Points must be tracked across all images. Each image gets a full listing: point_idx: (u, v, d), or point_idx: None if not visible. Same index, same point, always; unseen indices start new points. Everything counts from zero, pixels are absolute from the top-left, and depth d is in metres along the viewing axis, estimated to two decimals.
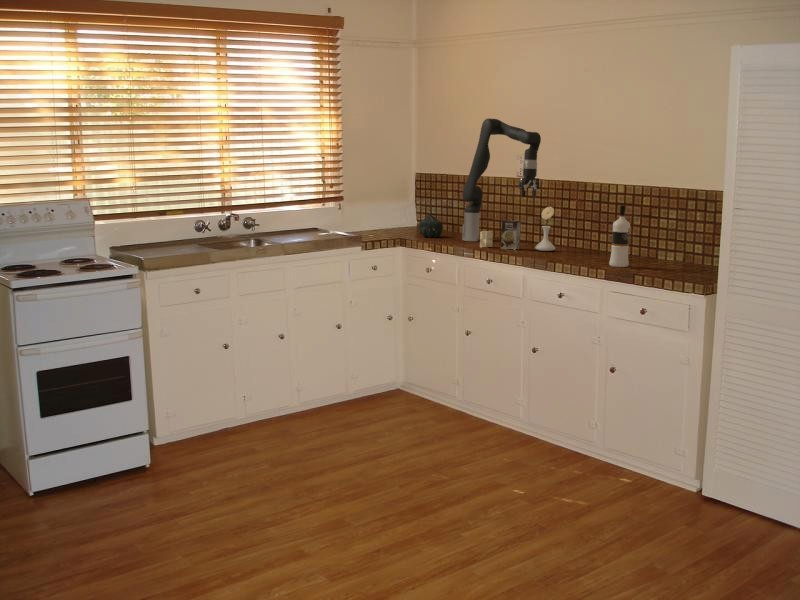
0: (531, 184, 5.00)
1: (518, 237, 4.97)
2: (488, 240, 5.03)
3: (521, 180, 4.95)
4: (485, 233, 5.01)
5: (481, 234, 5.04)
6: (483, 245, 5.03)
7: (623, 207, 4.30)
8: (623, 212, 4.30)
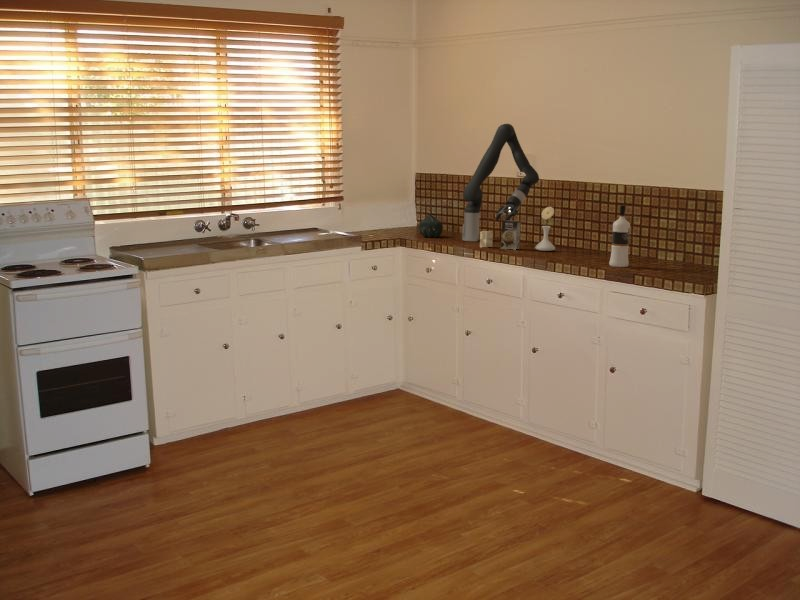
0: None
1: (518, 237, 4.97)
2: (488, 240, 5.03)
3: (518, 209, 5.07)
4: (485, 233, 5.01)
5: (481, 234, 5.04)
6: (483, 245, 5.03)
7: (623, 207, 4.30)
8: (623, 212, 4.30)
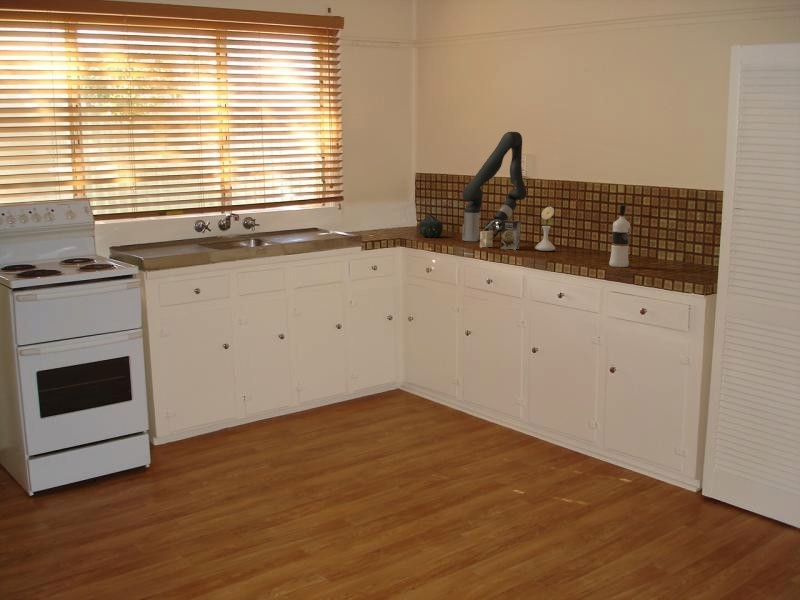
0: None
1: (518, 237, 4.97)
2: (488, 240, 5.03)
3: None
4: (485, 233, 5.01)
5: (481, 234, 5.04)
6: (483, 245, 5.03)
7: (623, 207, 4.30)
8: (623, 212, 4.30)
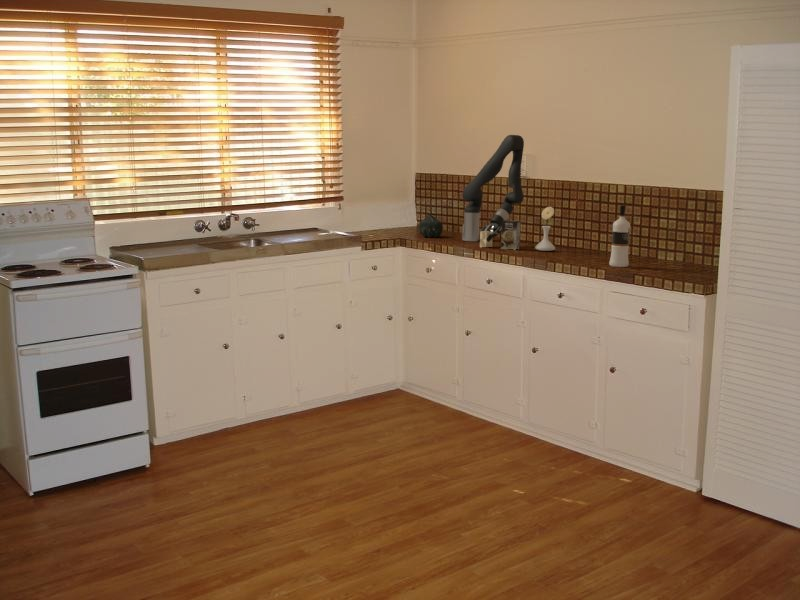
0: None
1: (518, 237, 4.97)
2: None
3: (500, 230, 5.02)
4: (485, 233, 5.01)
5: (481, 234, 5.04)
6: (483, 245, 5.03)
7: (623, 207, 4.30)
8: (623, 212, 4.30)
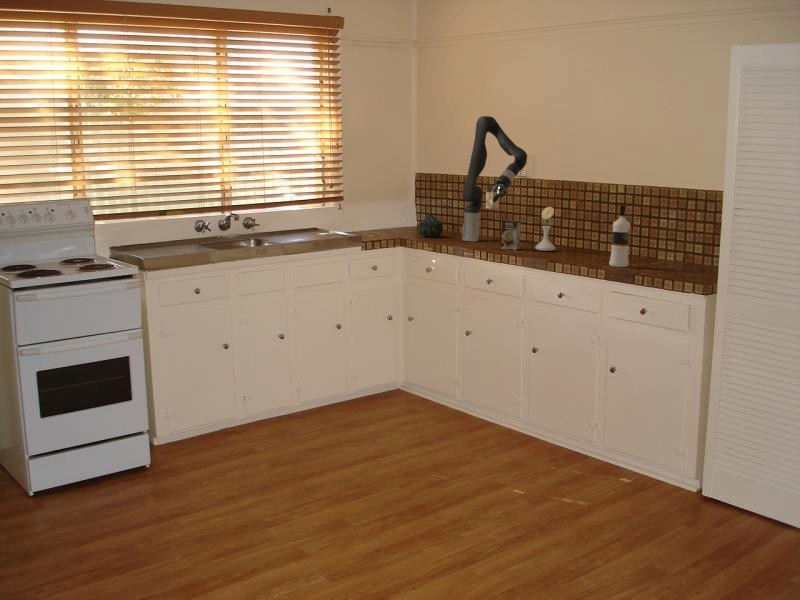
0: None
1: (518, 237, 4.97)
2: None
3: (507, 190, 4.97)
4: (491, 193, 4.96)
5: (487, 195, 4.99)
6: (489, 206, 4.98)
7: (623, 207, 4.30)
8: (623, 212, 4.30)
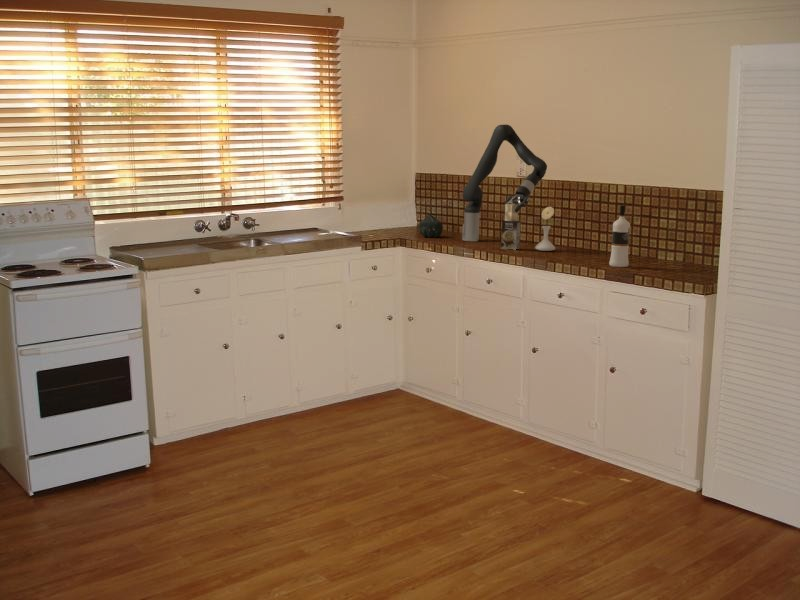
0: None
1: (518, 237, 4.97)
2: (513, 213, 4.94)
3: (528, 199, 4.93)
4: (510, 206, 4.93)
5: (506, 207, 4.95)
6: (508, 218, 4.95)
7: (623, 207, 4.30)
8: (623, 212, 4.30)
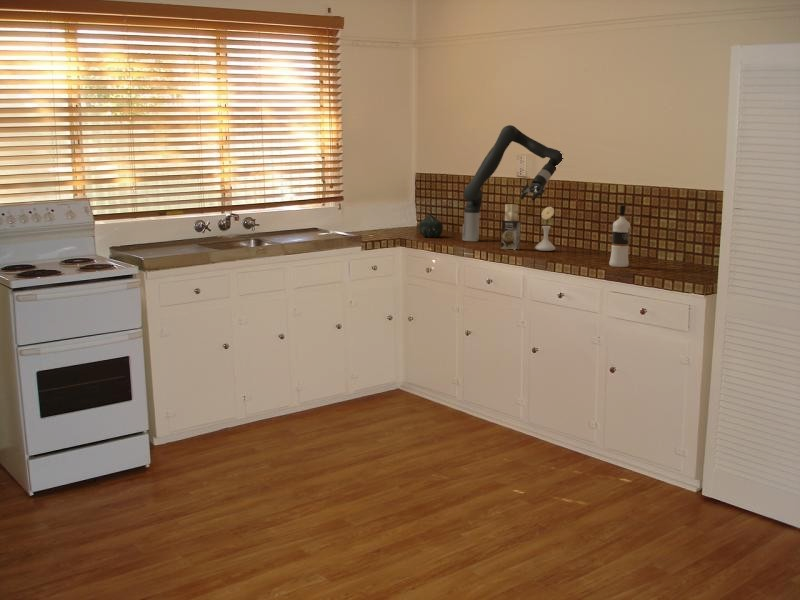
0: None
1: (518, 237, 4.97)
2: (513, 213, 4.94)
3: (544, 188, 5.03)
4: (510, 206, 4.93)
5: (506, 207, 4.95)
6: (508, 218, 4.95)
7: (623, 207, 4.30)
8: (623, 212, 4.30)
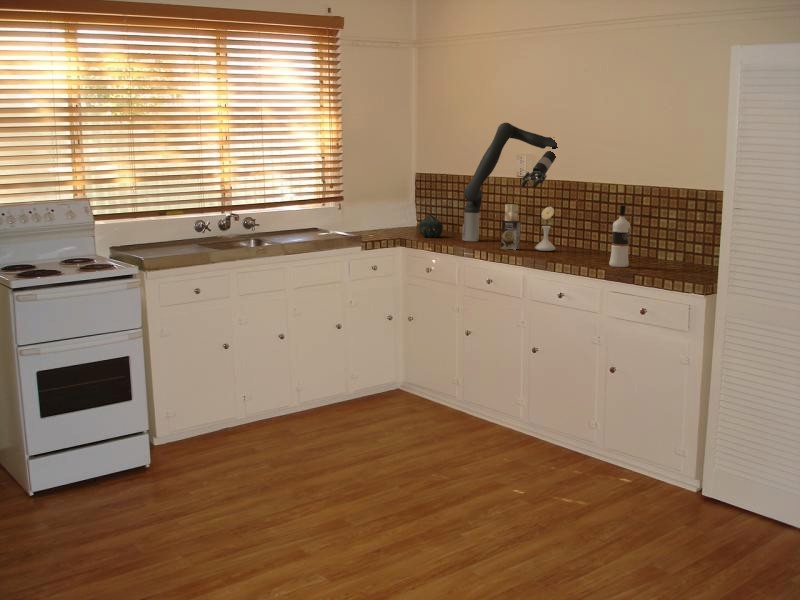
0: None
1: (518, 237, 4.97)
2: (513, 213, 4.94)
3: (545, 176, 5.05)
4: (510, 206, 4.93)
5: (506, 207, 4.95)
6: (508, 218, 4.95)
7: (623, 207, 4.30)
8: (623, 212, 4.30)
